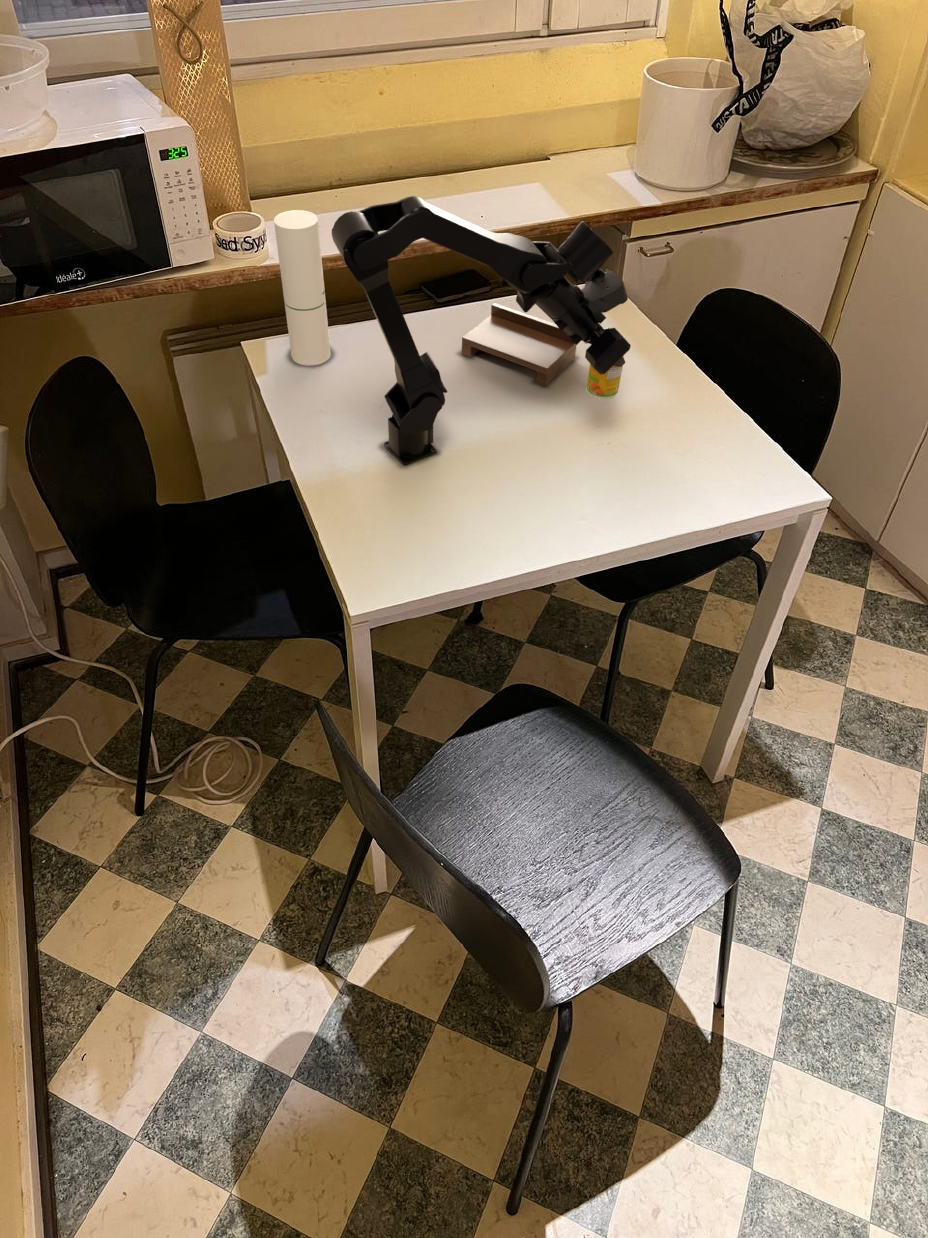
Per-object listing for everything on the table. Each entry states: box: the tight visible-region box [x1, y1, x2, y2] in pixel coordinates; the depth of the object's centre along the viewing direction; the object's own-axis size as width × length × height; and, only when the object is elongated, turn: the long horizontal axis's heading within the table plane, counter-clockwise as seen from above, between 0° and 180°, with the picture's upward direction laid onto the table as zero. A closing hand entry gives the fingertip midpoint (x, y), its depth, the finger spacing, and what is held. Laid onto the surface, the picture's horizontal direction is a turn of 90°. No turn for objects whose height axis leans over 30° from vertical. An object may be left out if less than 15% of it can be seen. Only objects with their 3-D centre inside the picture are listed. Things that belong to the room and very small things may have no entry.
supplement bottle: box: [585, 355, 625, 400], centre depth 151 cm, size 5×5×10 cm
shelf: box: [461, 302, 577, 386], centre depth 167 cm, size 11×18×6 cm, turn 57°
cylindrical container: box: [273, 209, 332, 367], centre depth 159 cm, size 7×7×25 cm
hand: (615, 355), depth 150 cm, fingers closed on supplement bottle, 5 cm apart
